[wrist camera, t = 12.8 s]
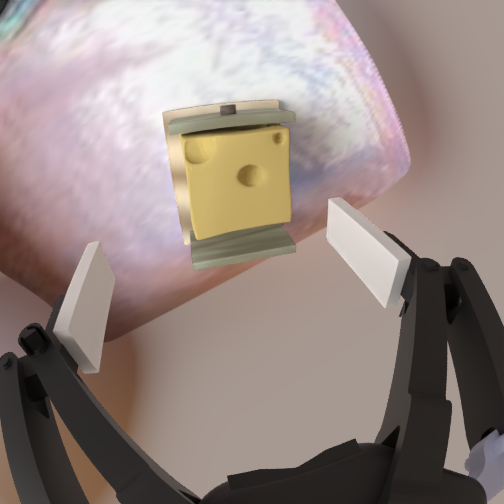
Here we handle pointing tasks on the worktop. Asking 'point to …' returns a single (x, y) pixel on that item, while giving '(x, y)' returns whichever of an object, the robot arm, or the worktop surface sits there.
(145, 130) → the worktop surface
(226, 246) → the holder
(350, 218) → the robot arm
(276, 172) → the cheese
